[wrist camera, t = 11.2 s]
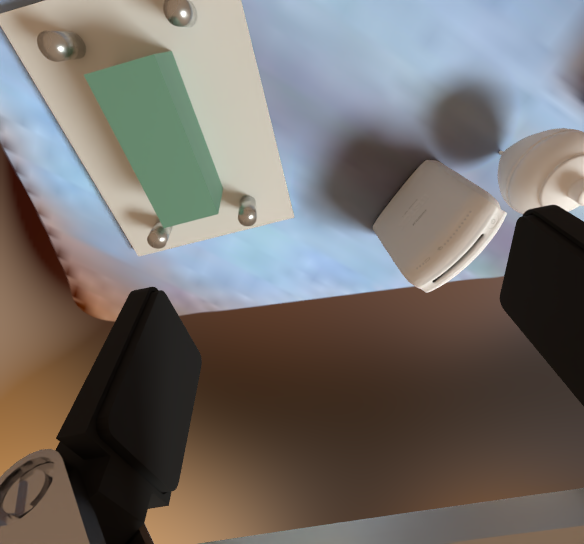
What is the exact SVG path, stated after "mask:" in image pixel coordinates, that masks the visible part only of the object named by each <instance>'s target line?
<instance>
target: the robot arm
mask: <svg viewBox="0 0 584 544" xmlns="http://www.w3.org/2000/svg"><path fill="white" fill-rule="evenodd" d="M500 302H501V305H502V307H503V309H504V310H505V311H506V313H507V314H508V315H509V316H510V317H511V319H512V320H513V321H514V322H515V324H516V325H517V326H518V327H519V328H520V330H521V331H522V332H523V333H524V335H525V336H526V337H527V338H528V339H529V341H530V342H531V343H532V344H533V345H534V347H535V348H536V349H537V350H538V351H539V353H540V354H541V355H542V356H543V358H544V359H545V360H546V361H547V362H548V364H549V365H550V366H551V367H552V368H553V370H554V371H555V372H556V373H557V375H558V376H559V377H560V378H561V379H562V381H563V382H564V383H565V384H566V385H567V387H568V388H569V389H570V390H571V391H572V393H573V394H574V395H575V396H576V398H577V399H578V400H579V401H580V402H581V404H582V405H583V406H584V222H583V221H582V220H580V219H579V218H577V217H575V216H574V215H572V214H571V213H569V212H567V211H566V210H564V209H563V208H561V207H559V206H557V205H548V206H543V207H538V208H533V209H529V210H527V211H525V213H524V214H523V216H522V217H520V218H519V219H518V220H517V222H516V226H515V231H514V235H513V240H512V244H511V249H510V253H509V258H508V262H507V267H506V271H505V275H504V280H503V284H502V289H501V293H500ZM201 363H202V362H201V355H200V352H199V351H198V349H197V347H196V345H195V344H194V342H193V340H192V339H191V337H190V335H189V333H188V332H187V330H186V328H185V326H184V325H183V323H182V321H181V319H180V318H179V316H178V314H177V312H176V311H175V309H174V307H173V306H172V304H171V302H170V300H169V299H168V297H167V295H166V294H165V292H164V291H161V290H160V291H158V289H157V288H155V287H149V288H144V289H139V290H134V291H132V292H131V293H130V294H129V296H128V298H127V300H126V302H125V304H124V306H123V308H122V310H121V312H120V314H119V316H118V318H117V320H116V321H115V324H114V326H113V327H112V329H111V331H110V333H109V335H108V337H107V339H106V341H105V343H104V345H103V347H102V349H101V351H100V353H99V355H98V357H97V359H96V361H95V363H94V365H93V367H92V369H91V371H90V373H89V375H88V377H87V378H86V380H85V382H84V384H83V386H82V388H81V390H80V392H79V394H78V396H77V398H76V400H75V402H74V404H73V406H72V408H71V410H70V412H69V414H68V416H67V418H66V420H65V422H64V424H63V426H62V428H61V430H60V432H59V433H58V436H57V437H56V439H58V440H59V441H60V443H59V445H58V446H57V448H56V450H52V449H45V450H39V451H36V452H34V453H31V454H29V455H27V456H26V457H24V458H22V459H21V460H19V461H18V462H16V463H15V464H14V465H13V466H11V467H10V468H9V469H8V470H7V471H6V472H5V473H4V474H3V475H2V476H1V477H0V544H154V543H153V541H152V539H151V536H150V534H149V532H148V530H147V528H146V526H145V524H144V521H145V517H146V513H147V509H150V508H155V507H163V506H169V501H170V496H171V491H174V490H175V489H176V488H177V486H178V482H179V478H180V473H181V468H182V463H183V457H184V452H185V447H186V442H187V437H188V432H189V427H190V421H191V416H192V411H193V406H194V401H195V395H196V390H197V385H198V380H199V375H200V369H201ZM200 544H584V488H583V489H575V490H569V491H561V492H553V493H546V494H539V495H532V496H525V497H517V498H510V499H503V500H496V501H489V502H482V503H475V504H468V505H461V506H454V507H447V508H440V509H433V510H426V511H419V512H411V513H405V514H398V515H391V516H384V517H377V518H370V519H363V520H357V521H349V522H342V523H335V524H328V525H321V526H315V527H308V528H301V529H294V530H288V531H281V532H274V533H267V534H261V535H254V536H247V537H241V538H233V539H227V540H220V541H214V542H206V543H200Z"/></svg>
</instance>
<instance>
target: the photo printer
mask: <svg viewBox="0 0 584 544" xmlns="http://www.w3.org/2000/svg"><path fill="white" fill-rule="evenodd" d="M506 214H507V213H506V212H504V211H502V210H501V208H500V205H499V203H498V202H497V200H496V199H495V198H494V197H493V196H492V195H491V194H489V193H488V192H487V191H485V190H483V189H482V188H480V187H479V186H477V185H476V184H474V183H472V182H471V181H469V180H468V179H466V178H464V177H463V176H461V175H460V174H458V173H457V172H455V171H453V170H452V169H450V168H449V167H447V166H445V165H444V164H442V163H441V162H439V161H435V160H426V161H424V162H423V163H422V164H421V165H420V166H419V167H418V168H417V169H416V170H415V172H414V173H413V174H412V175H411V176H410V177H409V179H408V180H407V181H406V182H405V184H404V185H403V186H402V187H401V188H400V190H399V191H398V192H397V193H396V195H395V196H394V197H393V198H392V200H391V201H390V202H389V204H388V205H387V206H386V208H385V209H384V210H383V212H382V213H381V214H380V216H379V217H378V218H377V220H376V222H375V223H374V225H373V230H374V232H375V233H376V235H377V236H378V238H379V240H380V241H381V243H382V244H383V246H384V247H385V249H386V250H387V252H388V253H389V255H390V256H391V258H392V259H393V261H394V262H395V264H396V265H397V267H398V269H399V270H400V271H401V273H402V274H403V275H404V277H405V278H406V279H407V280H408V281H409V282H410V283H411V284H413V285H414V286H416V287H417V288H420V289H422V290H423V291H425V292H430V291H432V290H434V289H436V288H438V287H440V286H441V285H443V284H445V283H446V282H448V281H449V280H451V279H452V278H453V277H455V276H456V275H457V274H459V273H460V272H461V271H462V270H463V269H464V268H465V267H467V266H468V265H469V264H470V263H471V262H472V261H473V260H474V259H475V258H476V257H477V256H478V255H479V254H480V253H481V252H482V250H483V249H484V248H485V247H486V246H487V244H488V243H489V242H490V241H491V239H492V238H493V237H494V235H495V234H496V233H497V231H498V229H499V228H500V226H501V224H502V223H503V221H504V219H505V217H506Z"/></svg>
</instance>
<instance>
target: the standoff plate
mask: <svg viewBox="0 0 584 544" xmlns="http://www.w3.org/2000/svg"><path fill="white" fill-rule="evenodd" d="M0 26H1V27H2V29H3V31H4V32H5V34H6V36H7V37H8V39H9V41H10V42H11V44H12V46H13V47H14V49H15V51H16V52H17V54H18V56H19V57H20V59H21V61H22V62H23V64H24V66H25V67H26V69H27V71H28V72H29V74H30V76H31V77H32V79H33V81H34V82H35V84H36V86H37V88H38V89H39V91H40V93H41V94H42V96H43V98H44V99H45V101H46V103H47V104H48V106H49V108H50V109H51V111H52V113H53V114H54V116H55V118H56V119H57V121H58V123H59V124H60V126H61V128H62V129H63V131H64V133H65V134H66V136H67V138H68V139H69V141H70V143H71V144H72V146H73V148H74V149H75V151H76V153H77V154H78V156H79V158H80V159H81V161H82V163H83V164H84V166H85V168H86V169H87V171H88V173H89V174H90V176H91V178H92V180H93V181H94V183H95V185H96V186H97V188H98V190H99V191H100V193H101V195H102V196H103V198H104V200H105V201H106V203H107V205H108V206H109V208H110V210H111V211H112V213H113V215H114V216H115V218H116V220H117V221H118V223H119V225H120V226H121V228H122V230H123V231H124V233H125V235H126V236H127V238H128V240H129V241H130V243H131V245H132V246H133V248H134V250H135V251H136V253H137V255H138V256H142V255H146V254H150V253H154V252H158V251H162V250H166V249H170V248H174V247H178V246H182V245H186V244H190V243H194V242H198V241H202V240H206V239H210V238H214V237H218V236H222V235H226V234H230V233H234V232H238V231H242V230H246V229H250V228H254V227H258V226H262V225H266V224H270V223H274V222H278V221H282V220H286V219H290V218H294V214H293V209H292V205H291V201H290V197H289V193H288V189H287V185H286V181H285V177H284V173H283V169H282V165H281V161H280V157H279V152H278V148H277V144H276V140H275V136H274V132H273V128H272V124H271V120H270V116H269V112H268V108H267V104H266V100H265V95H264V91H263V87H262V83H261V79H260V75H259V71H258V67H257V63H256V59H255V55H254V51H253V47H252V43H251V39H250V34H249V30H248V26H247V22H246V18H245V14H244V10H243V6H242V2H241V0H45V1H41V2H38V3H35V4H31V5H28V6H24V7H21V8H18V9H14V10H11V11H8V12H4V13H1V14H0ZM169 51H172V53H173V56H174V58H175V61H176V64H177V66H178V69H179V72H180V74H181V77H182V80H183V82H184V85H185V88H186V90H187V93H188V96H189V98H190V101H191V104H192V106H193V109H194V112H195V114H196V117H197V120H198V122H199V125H200V128H201V131H202V133H203V136H204V139H205V141H206V144H207V147H208V149H209V152H210V155H211V157H212V160H213V163H214V165H215V168H216V171H217V173H218V176H219V179H220V181H221V184H222V187H223V192H222V197H221V202H220V208H219V213H218V214H217V215H213V216H209V217H205V218H201V219H198V220H194V221H190V222H186V223H182V224H179V225H175V226H171V227H167V228H163V226H162V224H161V222H160V220H159V218H158V216H157V214H156V213H155V211H154V209H153V207H152V205H151V203H150V201H149V199H148V197H147V195H146V193H145V192H144V190H143V188H142V186H141V184H140V182H139V180H138V178H137V176H136V174H135V172H134V170H133V169H132V167H131V165H130V163H129V161H128V159H127V157H126V155H125V153H124V151H123V149H122V148H121V146H120V144H119V142H118V140H117V138H116V136H115V134H114V132H113V130H112V128H111V126H110V125H109V123H108V121H107V119H106V117H105V115H104V113H103V111H102V109H101V107H100V105H99V104H98V102H97V100H96V98H95V96H94V94H93V92H92V90H91V88H90V86H89V84H88V83H87V81H86V79H85V77H84V74H88V73H91V72H95V71H98V70H101V69H105V68H108V67H112V66H115V65H119V64H122V63H125V62H129V61H132V60H136V59H139V58H142V57H146V56H149V55H153V54H157V53H163V52H169Z"/></svg>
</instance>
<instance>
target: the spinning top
mask: <svg viewBox="0 0 584 544" xmlns="http://www.w3.org/2000/svg"><path fill="white" fill-rule="evenodd" d="M499 154H500V155H501V158H500V161H499V166H498V175H497V176H498V183H499V188H500V192H501V194H502V197H503V199H504V200H505V202H506V203H507V204H508V205H509V206H510V207H511V208H512V209H514V210H515V211H517V212H519V213H521V214H524V213H525V211H527V210H529V209H533V208H538V207H543V206H548V205H557V206H559V207H561V208H563V209H564V210H566V211H567V212H568V211H571V210H573V209H575V208H577V207H578V206H580V205H582V206H584V132H582V131H579V130H574V129H565V128H561V129H552V130H547V131H543V132H540V133H536V134H534V135H531V136H528V137H526V138H524V139H522V140H520V141H518V142H517V143H515V144H513V145H512V146H510V147H509V148H508V149H506V150H505V151H499Z"/></svg>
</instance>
